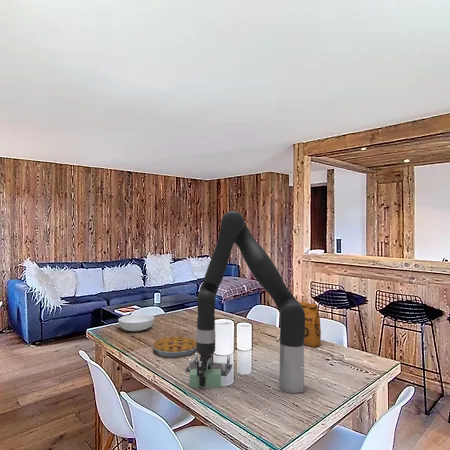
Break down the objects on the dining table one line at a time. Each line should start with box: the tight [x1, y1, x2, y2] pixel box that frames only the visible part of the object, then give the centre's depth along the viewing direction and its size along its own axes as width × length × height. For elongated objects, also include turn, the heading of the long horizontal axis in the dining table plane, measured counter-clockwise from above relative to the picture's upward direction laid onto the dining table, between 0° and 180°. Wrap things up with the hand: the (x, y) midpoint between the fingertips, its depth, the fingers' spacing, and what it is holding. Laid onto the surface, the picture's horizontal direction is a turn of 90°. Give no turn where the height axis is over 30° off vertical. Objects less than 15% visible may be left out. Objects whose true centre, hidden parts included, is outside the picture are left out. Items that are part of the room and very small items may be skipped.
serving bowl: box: [118, 313, 155, 332], centre depth 214 cm, size 21×21×7 cm
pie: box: [153, 336, 196, 358], centre depth 177 cm, size 22×22×5 cm
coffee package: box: [298, 301, 322, 348], centre depth 190 cm, size 10×12×22 cm
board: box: [189, 369, 222, 388], centre depth 140 cm, size 12×6×5 cm, turn 93°
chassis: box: [185, 351, 233, 377], centre depth 155 cm, size 18×11×5 cm, turn 75°
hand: (205, 381), depth 140 cm, fingers open, 7 cm apart
